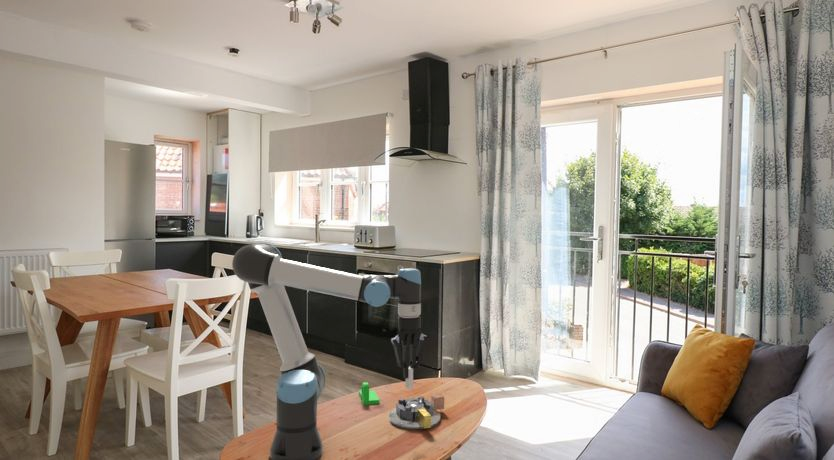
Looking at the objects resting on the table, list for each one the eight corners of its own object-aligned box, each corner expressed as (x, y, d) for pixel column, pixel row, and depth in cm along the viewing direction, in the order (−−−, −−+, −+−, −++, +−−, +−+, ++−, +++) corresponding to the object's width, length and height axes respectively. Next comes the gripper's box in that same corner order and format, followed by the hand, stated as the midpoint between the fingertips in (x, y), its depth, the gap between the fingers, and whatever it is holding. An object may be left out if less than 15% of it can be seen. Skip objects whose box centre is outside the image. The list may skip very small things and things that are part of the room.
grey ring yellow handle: (392, 409, 174) (393, 397, 174) (425, 405, 178) (425, 394, 178) (409, 430, 157) (409, 417, 157) (444, 425, 161) (445, 413, 161)
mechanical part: (379, 405, 184) (379, 384, 184) (363, 406, 182) (363, 385, 182) (373, 394, 195) (373, 374, 195) (358, 395, 194) (359, 375, 194)
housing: (398, 432, 159) (398, 414, 159) (383, 412, 176) (383, 396, 176) (456, 424, 166) (456, 407, 166) (436, 405, 183) (436, 390, 183)
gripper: (396, 319, 152) (395, 394, 153) (432, 316, 158) (432, 387, 159) (386, 315, 159) (386, 387, 159) (421, 312, 165) (421, 381, 165)
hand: (409, 387), depth 159 cm, fingers closed
